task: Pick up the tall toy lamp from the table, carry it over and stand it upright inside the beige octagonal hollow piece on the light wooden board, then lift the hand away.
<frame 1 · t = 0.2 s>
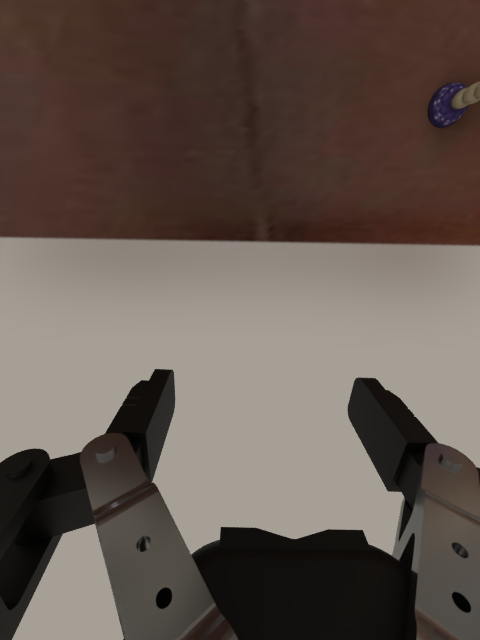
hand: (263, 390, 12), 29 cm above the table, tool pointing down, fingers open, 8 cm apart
toy lamp: (444, 110, 32), on the table
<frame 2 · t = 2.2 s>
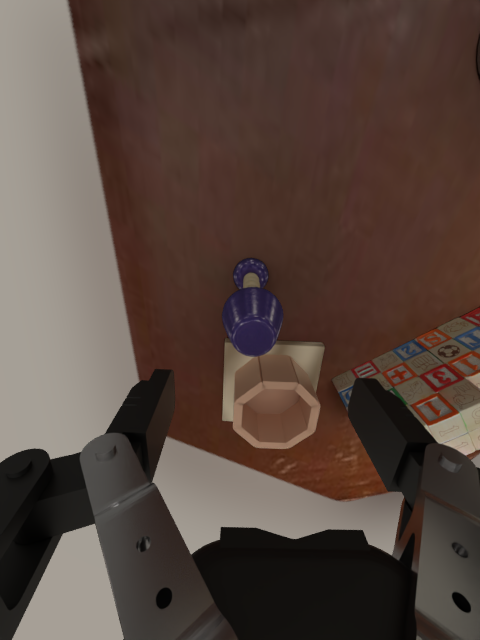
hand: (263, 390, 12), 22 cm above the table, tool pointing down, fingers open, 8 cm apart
beige octagonal hollow piece: (270, 386, 37), resting on birch board
birch board: (269, 380, 38), on the table
stack of blocks: (408, 359, 37), on the table
toy lamp: (247, 275, 33), on the table
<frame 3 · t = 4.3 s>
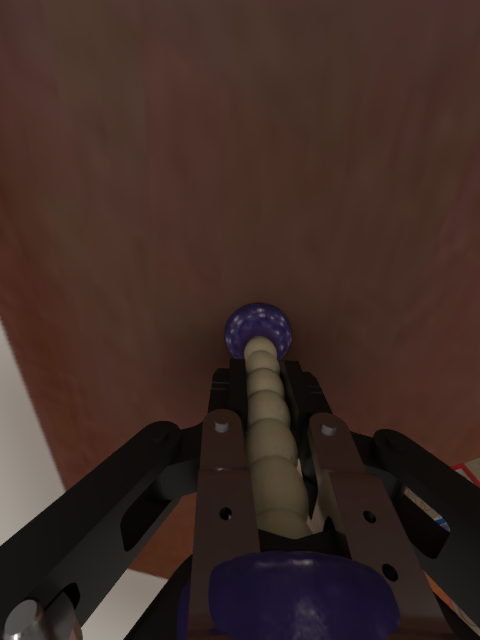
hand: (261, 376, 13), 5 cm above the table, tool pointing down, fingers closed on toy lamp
toy lamp: (252, 333, 17), on the table, touching gripper
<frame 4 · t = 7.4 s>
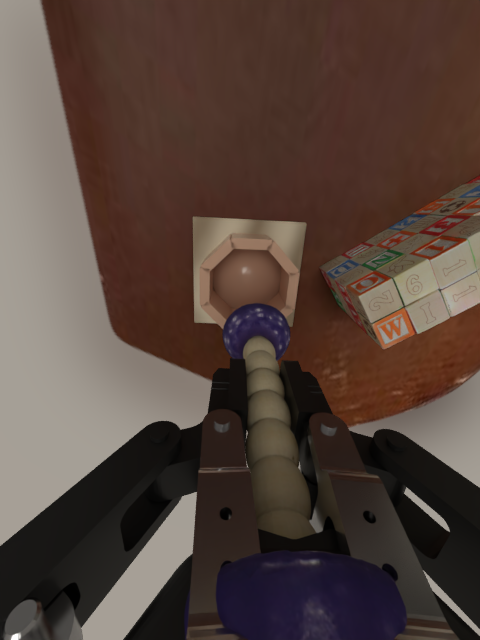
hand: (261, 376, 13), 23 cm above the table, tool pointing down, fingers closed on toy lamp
beige octagonal hollow piece: (246, 276, 33), resting on birch board
birch board: (246, 273, 34), on the table
stack of blocks: (405, 243, 33), on the table
toy lamp: (250, 333, 17), point 18 cm above the table, touching gripper
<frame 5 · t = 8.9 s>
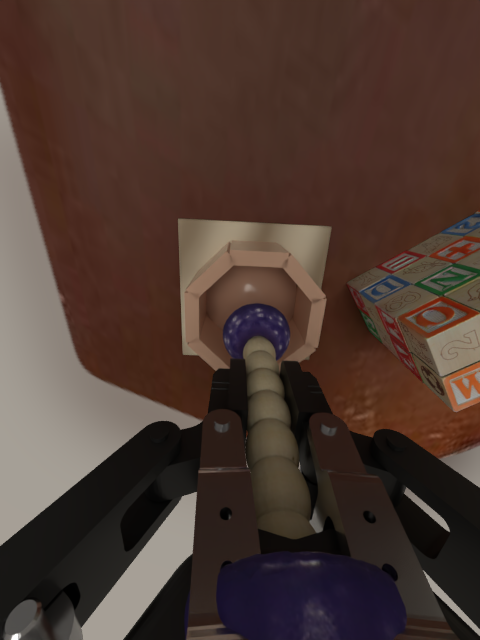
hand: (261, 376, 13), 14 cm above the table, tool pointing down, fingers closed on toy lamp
beige octagonal hollow piece: (250, 296, 25), resting on birch board
birch board: (249, 292, 26), on the table
stack of blocks: (461, 251, 25), on the table
toy lamp: (250, 333, 17), point 10 cm above the table, touching gripper
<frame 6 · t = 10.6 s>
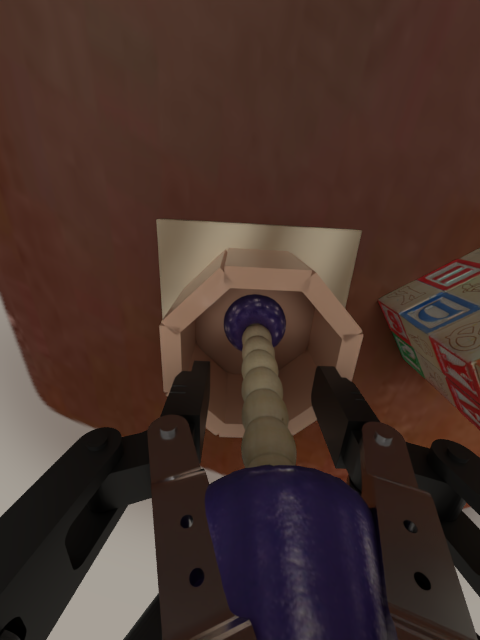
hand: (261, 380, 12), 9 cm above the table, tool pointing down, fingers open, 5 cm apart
beige octagonal hollow piece: (252, 320, 19), resting on birch board
birch board: (252, 314, 20), on the table
toy lamp: (249, 323, 18), point 2 cm above the table, touching beige octagonal hollow piece
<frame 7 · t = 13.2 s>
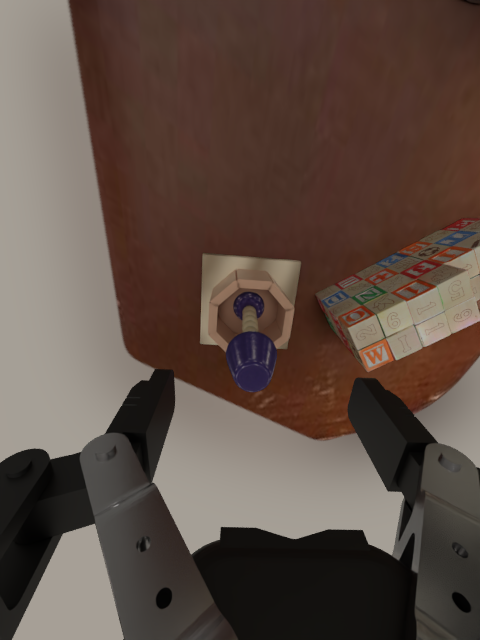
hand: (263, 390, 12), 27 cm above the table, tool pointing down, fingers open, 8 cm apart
beige octagonal hollow piece: (247, 305, 37), resting on birch board
birch board: (247, 302, 38), on the table
stack of blocks: (390, 276, 38), on the table
toy lamp: (246, 306, 37), point 2 cm above the table, touching beige octagonal hollow piece
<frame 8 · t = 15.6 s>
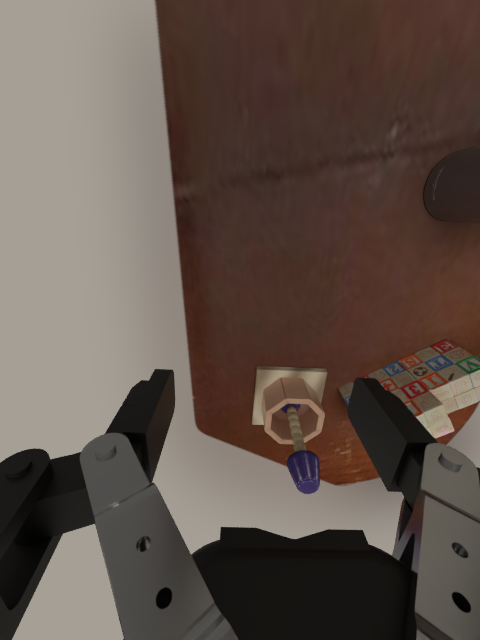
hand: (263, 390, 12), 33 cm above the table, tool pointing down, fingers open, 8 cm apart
beige octagonal hollow piece: (288, 399, 51), resting on birch board
birch board: (287, 395, 53), on the table
stack of blocks: (393, 374, 51), on the table
toy lamp: (287, 401, 51), point 2 cm above the table, touching beige octagonal hollow piece
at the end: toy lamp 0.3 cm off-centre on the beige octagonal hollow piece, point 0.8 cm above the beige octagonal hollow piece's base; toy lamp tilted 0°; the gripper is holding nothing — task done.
